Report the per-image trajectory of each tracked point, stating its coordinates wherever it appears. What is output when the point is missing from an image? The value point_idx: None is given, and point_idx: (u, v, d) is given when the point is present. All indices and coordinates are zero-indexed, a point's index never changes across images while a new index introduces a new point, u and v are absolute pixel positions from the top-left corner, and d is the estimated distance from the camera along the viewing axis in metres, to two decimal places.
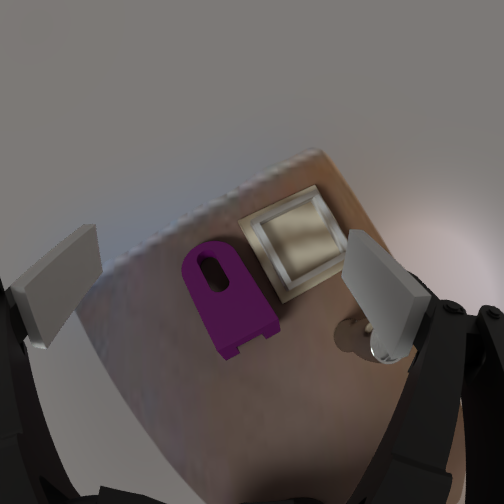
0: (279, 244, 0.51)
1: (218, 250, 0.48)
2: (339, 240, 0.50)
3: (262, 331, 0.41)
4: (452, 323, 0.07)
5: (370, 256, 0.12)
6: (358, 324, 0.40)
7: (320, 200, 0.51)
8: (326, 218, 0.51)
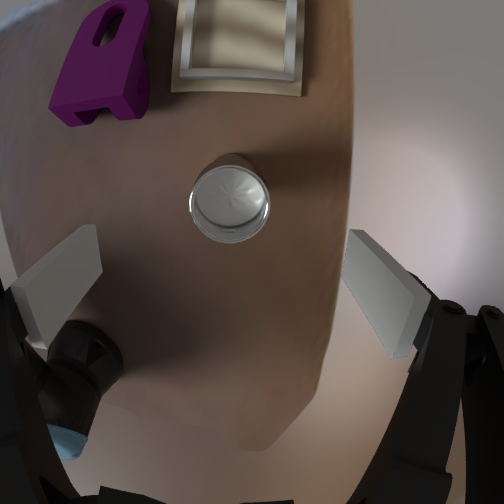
0: (210, 26, 0.28)
1: (133, 5, 0.25)
2: (285, 56, 0.29)
3: (103, 104, 0.25)
4: (452, 323, 0.07)
5: (370, 256, 0.12)
6: (218, 159, 0.27)
7: (293, 3, 0.26)
8: (287, 25, 0.27)
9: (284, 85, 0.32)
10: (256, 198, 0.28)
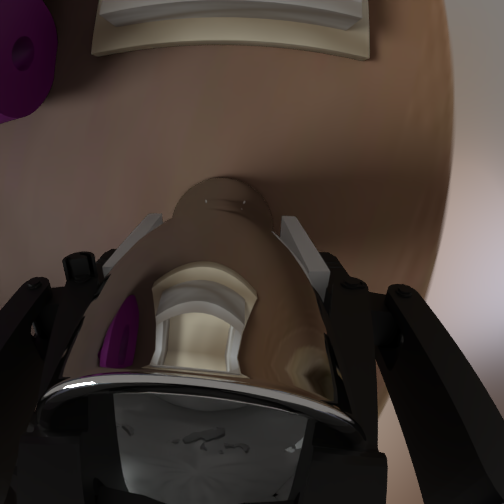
0: None
1: None
2: None
3: None
4: (353, 299, 0.09)
5: (290, 238, 0.14)
6: (162, 228, 0.08)
7: None
8: None
9: (335, 32, 0.13)
10: None
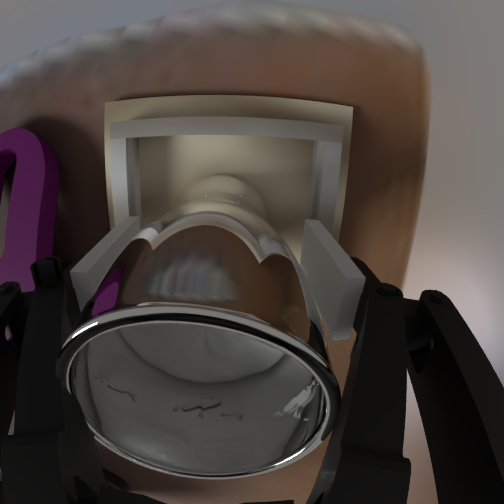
0: (167, 202, 0.19)
1: (24, 161, 0.15)
2: None
3: None
4: (388, 306, 0.08)
5: (317, 243, 0.13)
6: (167, 214, 0.09)
7: (333, 163, 0.16)
8: (316, 214, 0.17)
9: None
10: None
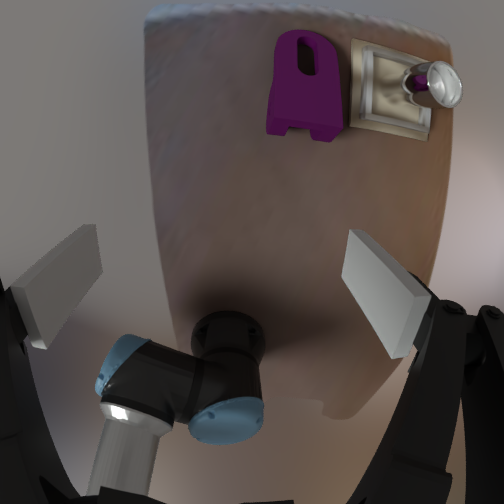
0: (376, 79, 0.40)
1: (322, 44, 0.36)
2: (425, 114, 0.41)
3: (321, 128, 0.37)
4: (452, 323, 0.07)
5: (370, 256, 0.12)
6: None
7: None
8: None
9: (419, 133, 0.44)
10: (441, 91, 0.31)
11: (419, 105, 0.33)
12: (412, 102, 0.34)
